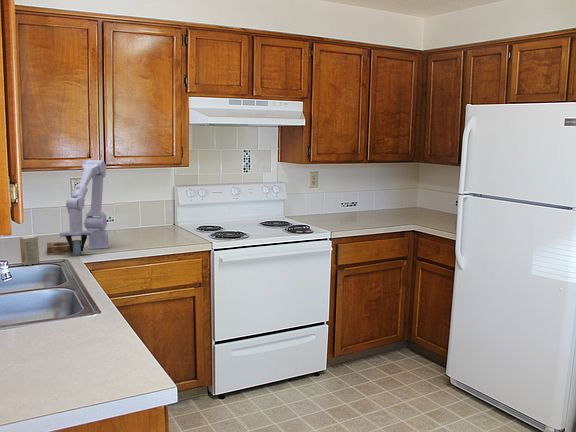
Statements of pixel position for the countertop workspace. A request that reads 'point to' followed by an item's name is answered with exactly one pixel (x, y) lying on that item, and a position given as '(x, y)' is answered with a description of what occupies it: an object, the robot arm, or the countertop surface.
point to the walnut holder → (58, 248)
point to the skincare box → (29, 250)
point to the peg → (76, 247)
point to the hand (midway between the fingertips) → (77, 251)
